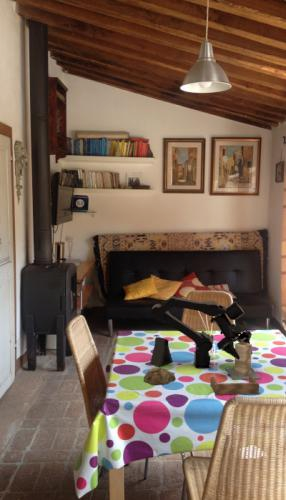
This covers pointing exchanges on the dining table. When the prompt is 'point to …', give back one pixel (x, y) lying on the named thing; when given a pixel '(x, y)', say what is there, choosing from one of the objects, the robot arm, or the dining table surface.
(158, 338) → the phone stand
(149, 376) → the bread roll
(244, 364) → the maple block
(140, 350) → the dining table surface
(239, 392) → the nook
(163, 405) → the dining table surface
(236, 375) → the mat
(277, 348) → the dining table surface
